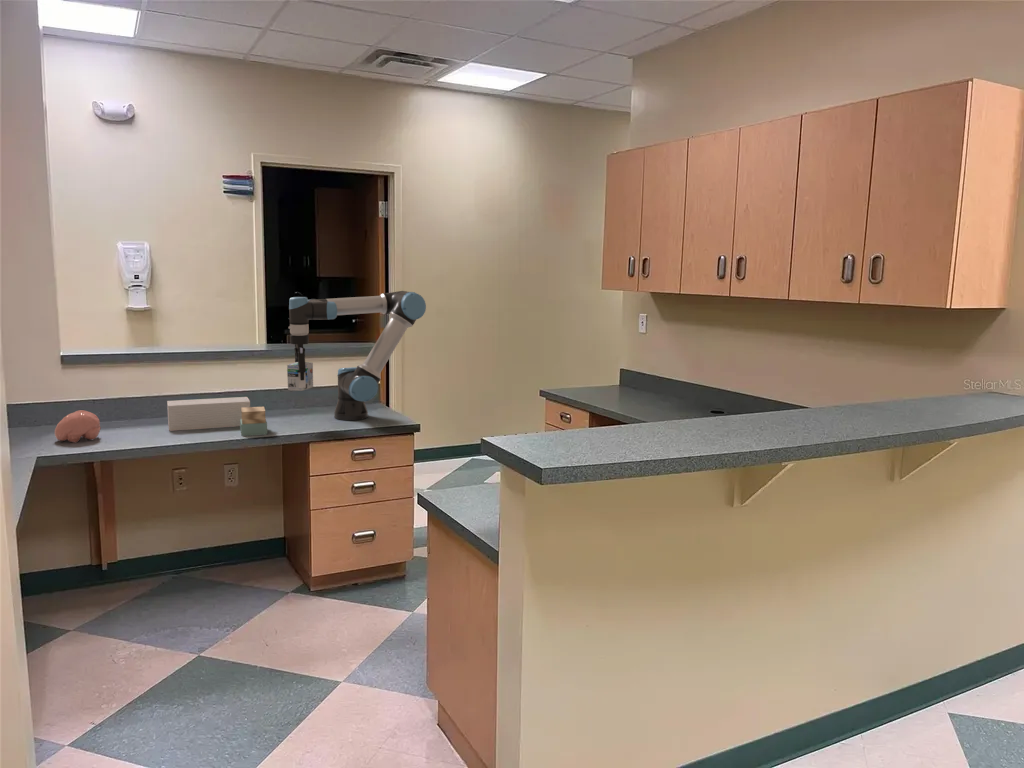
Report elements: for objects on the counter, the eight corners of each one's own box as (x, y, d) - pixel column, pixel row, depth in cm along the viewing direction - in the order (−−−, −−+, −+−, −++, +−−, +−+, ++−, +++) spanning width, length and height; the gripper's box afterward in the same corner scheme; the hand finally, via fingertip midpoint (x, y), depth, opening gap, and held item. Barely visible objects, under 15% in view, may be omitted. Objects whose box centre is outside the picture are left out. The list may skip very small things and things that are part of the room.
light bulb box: (302, 391, 305) (301, 365, 304) (287, 390, 307) (286, 364, 305) (313, 386, 316) (313, 362, 314) (299, 385, 317) (298, 361, 315)
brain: (61, 455, 278) (44, 427, 274) (68, 446, 290) (51, 419, 286) (104, 436, 282) (87, 408, 278) (109, 428, 294) (93, 401, 290)
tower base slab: (265, 429, 312) (265, 417, 311) (267, 434, 303) (267, 423, 302) (240, 430, 308) (240, 419, 307) (241, 436, 299) (241, 424, 298)
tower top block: (264, 418, 310) (264, 406, 309) (265, 422, 302) (265, 411, 301) (241, 419, 307) (241, 407, 306) (242, 424, 299) (241, 412, 298)
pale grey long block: (247, 420, 326) (247, 396, 324) (250, 425, 317) (250, 401, 315) (168, 425, 312) (167, 400, 310) (169, 431, 303) (167, 405, 301)
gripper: (287, 331, 317) (288, 380, 321) (292, 337, 295) (294, 390, 298) (305, 331, 320) (306, 379, 323) (311, 337, 297) (313, 389, 301)
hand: (300, 385), depth 311 cm, fingers closed on light bulb box, 12 cm apart
